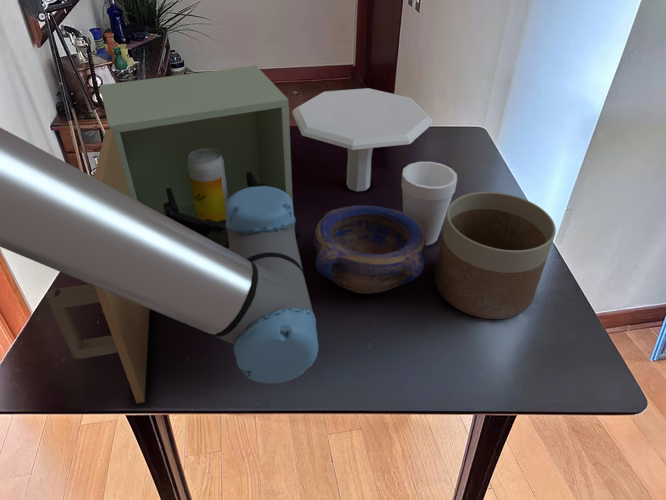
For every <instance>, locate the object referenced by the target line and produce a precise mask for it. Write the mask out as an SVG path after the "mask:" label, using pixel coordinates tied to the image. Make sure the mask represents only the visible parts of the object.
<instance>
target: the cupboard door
mask: <svg viewBox="0 0 666 500" xmlns="http://www.w3.org/2000/svg"><path fill="white" fill-rule="evenodd" d="M93 177H94V178H96V179H98V180H99V181H101V182H103V183H105V184H107V185H109V186H111V187H113V188H114V189H116V190H118V191H120V192H122V193H124V194H126V195H128V196H129V197H131V195H130V191H129V187H128V184H127V180H126V176H125V172H124V168H123V165H122V161H121V157H120V153H119V150H118V146H117V142H116V138H115V135H114V131H113V129H109V128H108V129H107V128H106V129H105V130H104V135H103V138H102V144H101V147H100V150H99V155H98V159H97V163H96V167H95V171H94V175H93ZM45 298H46V300H47V302H48V305H49V307H50V309H51V312H52V313H53V316H54V318H55V320H56V322H57V325H58V328H59V329H60V331H61V333H62V336H63V337H64V341H65V342H66V345H67V347H68V349H69V352H70V354H71V356H72V358H73V359H75V360H82V359H88V358H93V357H94V358H95V357H99V356H106V355H111V354H118V356H119V358H120V361H121V364H122V367H123V370H124V372H125V375H126V378H127V381H128V383H129V386H130V389H131V392H132V395H133V398H134V400H135V403H136V404H142V403H145V401H146V383H147V381H146V379H147V363H148V362H147V361H148V342H149V326H150V325H149V324H150V309H149V308H146V307H144V306H142V305H139V304H137V303H134V302H132V301H130V300H127V299H125V298H122V297H120V296H117V295H115V294H113V293H110V292H108V291H105V290H103V289H101V288H98V287H96V286H93V285H91V284H89V283H86V284H80V285H72V286H66V287H59V288H53V289H50V290H48V291H47V292H46V295H45ZM97 303H99V304H100V306H101V309H102V311H103V315H104V317H105V320H106V323H107V325H108V328H109V331H110V334H111V335H105V336H100V337H99V336H98V337H93V338H85V339H83V338H82V336H81V334H80V332H79V329H78V327H77V325H76V322H75V320H74V318H73V314H72V312H71V310H70V308H71V307H77V306H84V305H91V304H97Z"/></svg>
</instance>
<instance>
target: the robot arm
mask: <svg viewBox="0 0 666 500" xmlns="http://www.w3.org/2000/svg"><path fill="white" fill-rule="evenodd" d="M246 175H247V185H248V188H245V189H242V190H240V191H238V192H236V193H235V194H233V195H232V196H231V197H230V198H229V199H228V201H227V203H226V207H225V212H226V220H220V221H218V222H216V221H213V220H210V219H206V220H201V219H198V218H195V217H192V216H189V215H185V214H182V213H179V210H178V207H177V204H176V201H175V199H174V196H173V193H172V191H171V188H166V192H167V197H168V201H169V203H164V205H163V206H164V211H165V215H163V214H161V213H159V212H157V211H156V210H154V209H152V208H150V207H148V206H146V205H144V204H142V203H141V202H139V201H137V200H135V199H133V198H131V197H129V196H128V195H126V194H124V193H122V192H120V191H118V190H116V189H114V188H113V187H111V186H109V185H107V184H105V183H103V182H101V181H99V180H98V179H96V178H94V176H92V175H90V174H88V173H86V172H85V171H83V170H81V169H79V168H77V167H75V166H73V165H71V164H70V163H68V162H65V161H64V160H62V159H60V158H58V157H56V156H55V155H53V154H51V153H49V152H47V151H45V150H43V149H41V148H40V147H38V146H36V145H34V144H32V143H31V142H29V141H26V140H25V139H23V138H21V137H19V136H17V135H15V134H14V133H12V132H9V131H8V130H6V129H4V128H2V127H0V248H2V249H5V250H7V251H9V252H12V253H14V254H16V255H19V256H21V257H22V258H23V257H24V258H25V259H29V260H31V261H33V262H35V263H38V264H40V265H43V266H45V267H48V268H50V269H52V270H55V271H57V272H60V273H62V274H64V275H67V276H69V277H71V278H74V279H76V280H79V281H82V282H84V283H86V284H91V285H93V286H96V287H98V288H101V289H103V290H105V291H108V292H110V293H113V294H115V295H117V296H120V297H122V298H125V299H127V300H130V301H132V302H134V303H137V304H139V305H142V306H144V307H146V308H149V310H150V311H151V310H152V311H153V312H156V313H158V314H161V315H162V316H165V317H168V318H171V319H173V320H175V321H178V322H180V323H183V324H186V325H188V326H190V327H192V328H195V329H197V330H200V331H202V332H204V333H207V334H209V335H211V336H213V337H216V338H218V339H219V340H222V341H224V342H227V343H230V344H232V345H233V348H232V353H233V354H234V357H235V361H236V364H237V366H238V368H239V370H240V371H241V372H242V373H243V374H244V376H245V377H247V378H248V379H250V380H252V381H255V382H257V383H262V384H271V385H273V384H282V383H285V382H289V381H293V380H294V379H297V378H298V377H300V376H301V375H303V374H304V373H305V372H306V371H307V370H309V369H310V367H311V366H312V365H313V364H314V362H315V361H316V359H317V357H318V353H319V340H318V331H317V319H316V316H315V313H314V311H313V308H312V303H311V298H310V294H309V290H308V287H307V283H306V279H305V275H304V269H303V266H302V260H301V256H300V252H299V251H300V250H299V247H298V242H297V238H296V229H295V228H296V227H295V226H296V225H295V224H296V222H297V220H296V219H297V218H296V216H295V213H294V202H293V203H292V200H293V199H292V200H291V198H290V197H289V195H288V194H286V193H285V192H284V191H282V190H280V189H277V188H274V187H269V186H265V185H264V184H262V183H261V184H258V183H257V181H256V180H255V178H254V177H253V175H252V174H251V172H248V173H246ZM211 228H212V229H211Z"/></svg>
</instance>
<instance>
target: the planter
mask: <svg viewBox="0 0 666 500" xmlns="http://www.w3.org/2000/svg"><path fill="white" fill-rule="evenodd" d="M556 230H557V228H556V224H555V222H554V220H553V219H552V217H551V216H550V215H549V214H548V213H547V212H546V211H545V210H544V209H543V208H542V207H540V206H539V205H537V204H535V203H533V202H531V201H530V200H527V199H525V198H522V197H519V196H516V195H514V194H509V193H503V192H495V191H477V192H470V193H467V194H464V195H461V196H459V197H457V198H455V199H454V200H453V201H451V202H450V204H449V207H448V209H447V212H446V216H445V219H444V222H443V229H442V235H441V240H440V245H439V252H438V258H437V262H436V267H435V273H434V283H435V286H436V289H437V291H438V293H439V294H440V295H441V297H442V298H443V299H444V300H445V301H446V302H447V303H448V304H449V305H450V306H452V307H454V308H455V309H457V310H459V311H461V312H463V313H466V314H468V315H470V316H474V317H478V318H483V319H491V320H492V319H493V320H497V319H498V320H499V319H500V320H501V319H508V318H513V317H516V316H518V315H520V314H523V312H525V311H526V310H527V309H529V307H530V306H531V304H532V303H533V300H534V298H535V294H536V292H537V289H538V286H539V283H540V280H541V278H542V275H543V272H544V268H545V266H546V263H547V260H548V257H549V254H550V251H551V249H552V246H553V243H554V239H555V237H556V233H557V231H556Z"/></svg>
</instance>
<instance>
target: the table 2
mask: <svg viewBox="0 0 666 500" xmlns="http://www.w3.org/2000/svg"><path fill="white" fill-rule="evenodd" d="M291 113H292V116H293V118H294V121H295V122H296V125H297V128H298V129H299V132H300V134H301V136H302V137H306V138H310V139H314V140H317V141H321V142H324V143H327V144H331V145H334V146H337V147H342V148H344V149H347V164H346V186H347V188H348V189H349V190H351V191H354V192H365V191H367V190H369V188H370V187H371V177H372V174H371V173H372V155H373V150H374V148H384V147H393V146H404V145H406V146H407V145H411V144H412V143H413V142H415V140H416V139H418V138H419V136H421V135H422V134H423V133H424V132H425V131H426V130H428V128H430V127H431V126H432V125H433V124H434V122H433V119H432V118H431V117H430V116H429V115H428V114H427V113H426V111H424V109H423V108H421V107H420V105H419V104H418V103H416V101H415V100H414V99H413V98H411V97H409V96H405V95H399V94H395V93H391V92H386V91H382V90H379V89H375V88H374V89H373V88H369V87H367V88H354V89H340V90H327V91H323V92H320V93H318V94H317V95H315V96H314V97H312V98H311V99H309V100H307V101H306V102H304V103H302V104H301V105H298V106H297V107H295V108H293V109H292V112H291Z"/></svg>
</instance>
